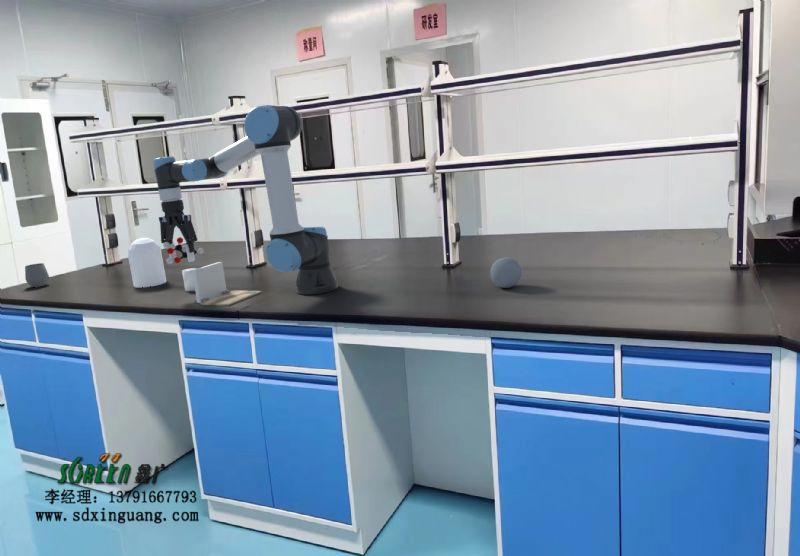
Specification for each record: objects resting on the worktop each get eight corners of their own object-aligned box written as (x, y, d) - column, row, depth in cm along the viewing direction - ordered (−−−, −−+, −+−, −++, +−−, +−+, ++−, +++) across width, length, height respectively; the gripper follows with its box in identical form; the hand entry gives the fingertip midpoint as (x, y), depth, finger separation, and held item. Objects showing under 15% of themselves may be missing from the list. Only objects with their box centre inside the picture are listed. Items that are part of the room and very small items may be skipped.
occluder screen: (230, 293, 231) (225, 261, 228) (204, 303, 219) (198, 270, 216) (220, 292, 233) (215, 261, 230) (193, 302, 221) (188, 270, 218)
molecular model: (189, 269, 235) (192, 244, 237) (203, 268, 231) (206, 242, 233) (154, 260, 222) (158, 234, 224) (169, 259, 218) (173, 232, 220)
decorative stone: (488, 291, 199) (486, 260, 197) (495, 283, 208) (493, 254, 206) (519, 291, 195) (517, 260, 193) (524, 283, 204) (523, 254, 202)
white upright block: (204, 287, 245) (201, 268, 244) (193, 291, 240) (190, 271, 239) (192, 287, 248) (189, 268, 246) (181, 291, 243) (178, 271, 241)
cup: (42, 283, 289) (37, 262, 287) (55, 283, 285) (50, 262, 282) (22, 288, 280) (18, 267, 278) (35, 289, 276) (30, 267, 274)
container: (155, 279, 273) (147, 234, 269) (173, 281, 265) (165, 235, 261) (127, 286, 262) (118, 240, 258) (145, 288, 255) (136, 241, 250)
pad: (261, 292, 227) (261, 290, 227) (229, 305, 211) (228, 304, 211) (234, 291, 233) (233, 290, 232) (200, 304, 217) (200, 302, 217)
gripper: (200, 197, 222) (211, 258, 227) (158, 200, 231) (169, 259, 236) (185, 199, 215) (197, 263, 220) (142, 203, 225) (154, 264, 229)
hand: (182, 261), depth 228 cm, fingers closed on molecular model, 8 cm apart
